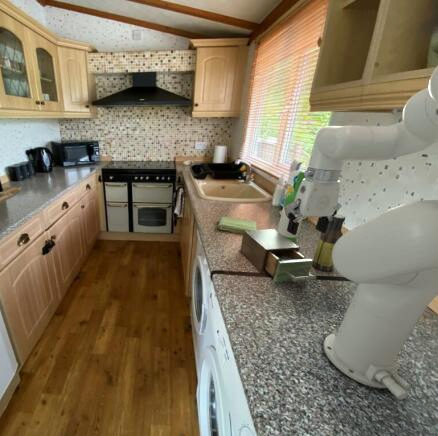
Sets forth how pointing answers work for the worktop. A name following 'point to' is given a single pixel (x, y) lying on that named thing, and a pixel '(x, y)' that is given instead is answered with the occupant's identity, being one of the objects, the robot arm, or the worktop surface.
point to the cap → (285, 258)
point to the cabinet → (264, 245)
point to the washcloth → (236, 225)
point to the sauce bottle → (328, 243)
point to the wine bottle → (284, 219)
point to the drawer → (288, 266)
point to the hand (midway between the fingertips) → (305, 232)
